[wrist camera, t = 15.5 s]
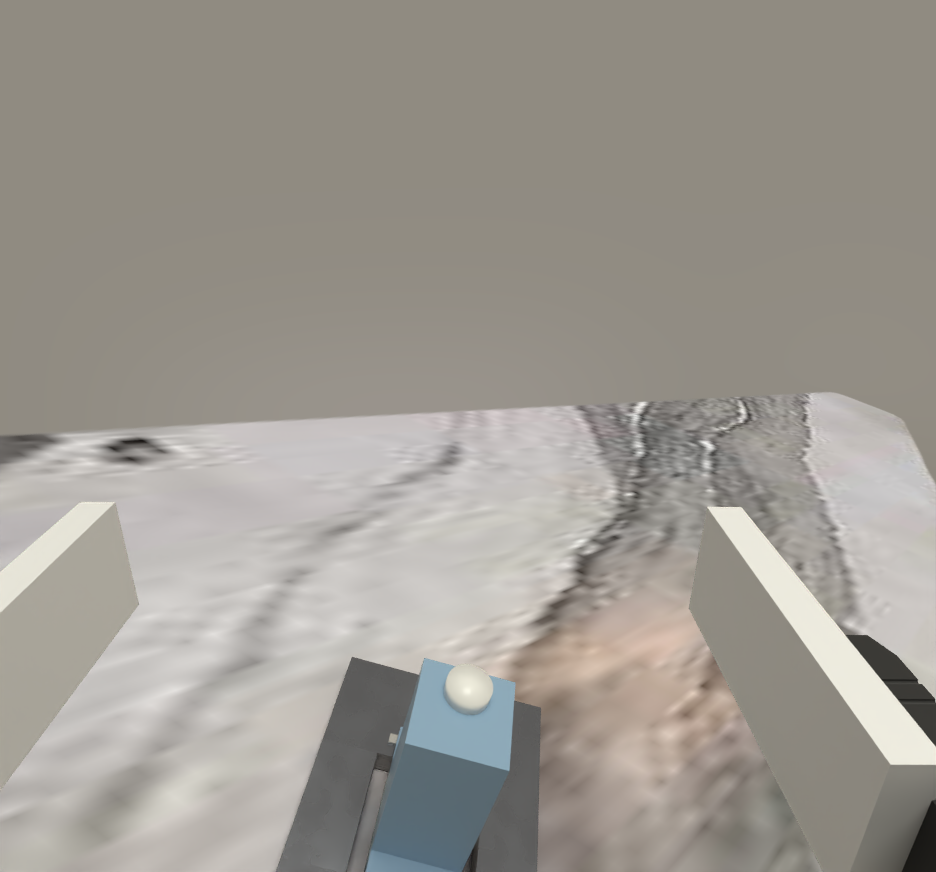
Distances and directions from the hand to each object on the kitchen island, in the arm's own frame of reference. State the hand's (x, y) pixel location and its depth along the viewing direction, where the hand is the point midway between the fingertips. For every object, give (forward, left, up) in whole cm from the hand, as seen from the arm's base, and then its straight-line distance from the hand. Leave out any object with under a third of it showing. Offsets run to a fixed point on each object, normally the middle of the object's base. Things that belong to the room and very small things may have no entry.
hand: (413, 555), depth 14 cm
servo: (-5, +9, -29) cm, 31 cm away
